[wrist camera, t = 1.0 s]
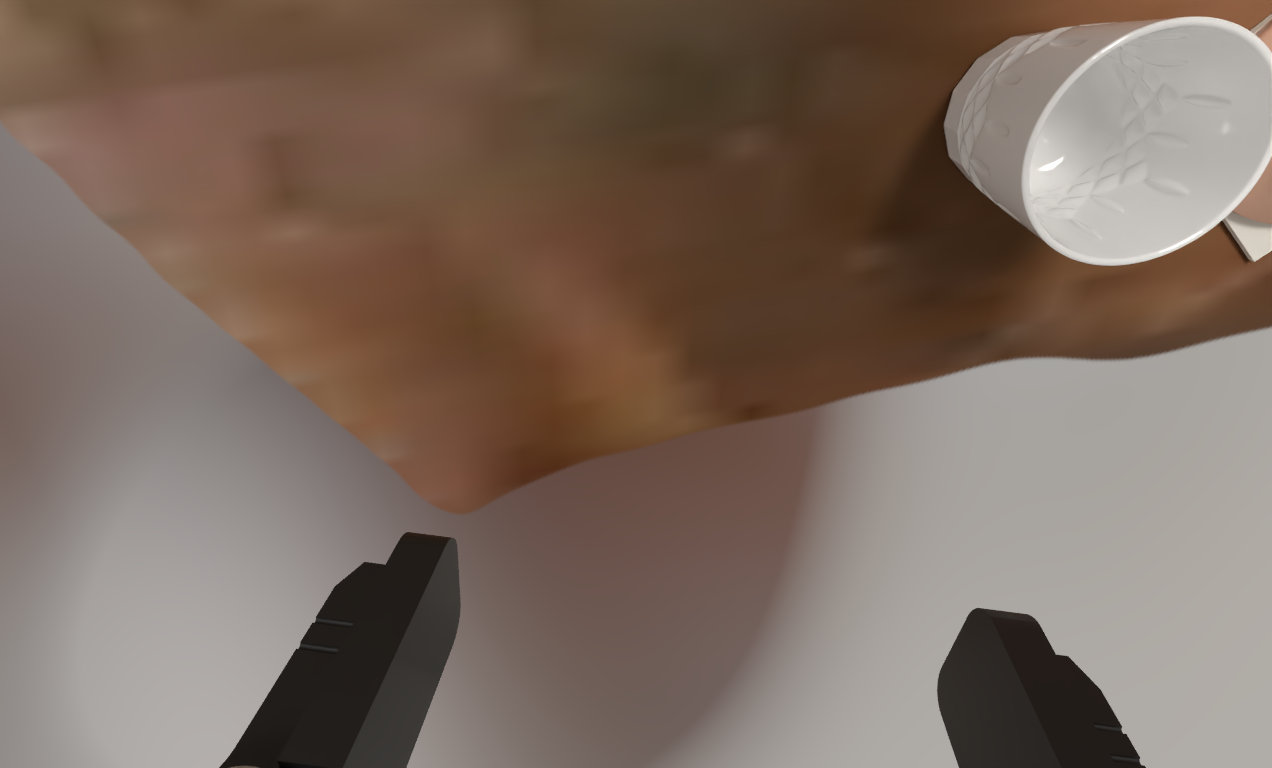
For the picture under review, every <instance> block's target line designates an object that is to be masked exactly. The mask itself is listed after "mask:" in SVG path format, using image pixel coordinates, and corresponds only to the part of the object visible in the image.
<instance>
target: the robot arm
mask: <svg viewBox="0 0 1272 768" xmlns="http://www.w3.org/2000/svg"><path fill="white" fill-rule="evenodd" d="M459 617H460V588H459V570H458V554H457V543H456V540H455V539H454V538H449V537H442V536H434V535H426V534H418V533H411V532H407V533H405V534H404V535H403V536H402V537H401V538H400V540H399V542H398V544H397V545H396V547H395V549H394V551H393V552H392V554H391V556H390V558H389V560H388V561H387V563H386V565H383V564H376V563H368V562H364V563H363V564H362V565H361V566H359V567H358V568H357V569H356V570H355V571H353V572H352V573H351V574H350V575H348V576H347V577H346V578H345V579H343V580H342V581H341V582H340V583H339V584H337V585H336V586H335V587H334V589H333V591H332V592H331V594H330V596H329V597H328V599H327V600H326V602H325V603H324V605H323V607H322V608H321V610H320V612H319V613H318V615H317V616H316V621H315V623H312V625H311V626H310V628H309V629H308V631H307V633H306V634H305V636H304V637H303V639H302V641H301V644H300V647H299V649H296V650H295V652H294V653H293V655H292V657H291V658H290V660H289V662H288V663H287V665H286V666H285V668H284V670H283V671H282V673H281V674H280V676H279V678H278V679H277V681H276V682H275V684H274V686H273V687H272V689H271V691H270V692H269V694H268V695H267V697H266V699H265V700H264V702H263V704H262V705H261V707H260V708H259V710H258V711H257V713H256V715H255V717H254V718H253V720H252V721H251V723H250V725H249V726H248V728H247V729H246V731H245V733H244V734H243V736H242V737H241V739H240V741H239V742H238V744H237V745H236V747H235V749H234V750H233V751H232V753H231V754H230V756H229V757H228V758H227V759H226V761H225V762H224V763H223V764H222V765H221V766H220V767H219V768H406V767H407V764H408V761H409V759H410V756H411V753H412V751H413V748H414V746H415V743H416V741H417V738H418V735H419V733H420V730H421V727H422V725H423V722H424V720H425V717H426V714H427V711H428V709H429V706H430V704H431V701H432V699H433V696H434V693H435V691H436V688H437V685H438V683H439V680H440V678H441V675H442V672H443V670H444V667H445V664H446V662H447V659H448V656H449V654H450V651H451V649H452V646H453V643H454V640H455V637H456V633H457V628H458V623H459ZM937 691H938V692H937V693H938V703H939V708H940V712H941V715H942V718H943V721H944V724H945V727H946V730H947V733H948V736H949V739H950V742H951V745H952V748H953V751H954V754H955V757H956V760H957V763H958V766H959V768H1146V767H1145V766H1142V765H1141V764H1140V762H1139V759H1140V757H1139V755H1138V754H1137V752H1136V750H1135V748H1134V747H1133V745H1132V743H1131V741H1130V740H1129V738H1128V737H1127V734H1123V733H1122V730H1121V728H1122V726H1121V724H1120V722H1119V721H1118V719H1117V717H1116V716H1115V714H1114V712H1113V710H1112V709H1111V707H1110V705H1109V704H1108V702H1107V700H1106V698H1105V697H1104V695H1103V693H1102V691H1101V690H1100V689H1099V688H1098V687H1097V686H1096V685H1095V684H1094V683H1093V682H1092V680H1091V679H1090V678H1089V677H1088V676H1087V675H1086V674H1085V673H1084V672H1083V671H1082V670H1081V669H1080V668H1079V667H1078V666H1077V665H1076V664H1075V663H1074V662H1073V661H1072V660H1071V659H1070V658H1069V657H1068V656H1062V655H1056V654H1055V652H1054V650H1053V649H1052V647H1051V645H1050V643H1049V641H1048V639H1047V637H1046V636H1045V634H1044V632H1043V630H1042V628H1041V627H1040V625H1039V623H1038V622H1037V621H1036V620H1035V619H1034V618H1033V617H1032V616H1030V615H1027V614H1020V613H1012V612H1005V611H996V610H989V609H982V608H976V609H974V610H972V611H971V612H970V614H969V615H968V617H967V619H966V621H965V623H964V625H963V627H962V629H961V631H960V633H959V634H958V636H957V639H956V640H955V642H954V644H953V646H952V648H951V650H950V652H949V654H948V656H947V658H946V660H945V662H944V664H943V666H942V668H941V670H940V674H939V678H938V689H937Z"/></svg>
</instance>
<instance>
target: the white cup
mask: <svg viewBox="0 0 1272 768" xmlns="http://www.w3.org/2000/svg"><path fill="white" fill-rule="evenodd" d="M944 131H945V137H946V143H947V149H948V155H949V157H950V159H951V160H952V161H953V162H954V163H955V165H956V166H957V167H958V168H959V169H960V171H961V172H962V173H963V174H964V175H965V177H966V178H967V179H968V180H969V181H971V182H972V183H973V184H974V185H975V186H976V187H977V188H978V189H979V190H980V191H981V192H982V193H983V194H984V195H986V196H987V197H988V198H989V199H990V200H992V201H993V202H994V203H995V204H996V205H998V206H999V207H1000V208H1001V209H1002V210H1003V211H1005V212H1006V213H1007V214H1008V215H1010V216H1011V217H1012V218H1014V219H1015V220H1016V221H1018V222H1019V223H1020V224H1022V225H1023V226H1024V227H1026V228H1027V229H1028V230H1030V231H1031V232H1032V233H1034V234H1035V235H1036V236H1037V237H1039V238H1040V239H1041V240H1043V241H1044V242H1045V243H1046V244H1048V245H1049V246H1050V247H1052V248H1053V249H1054V250H1056V251H1057V252H1059V253H1061V254H1062V255H1064V256H1067V257H1069V258H1071V259H1074V260H1077V261H1080V262H1084V263H1088V264H1094V265H1106V266H1115V265H1127V264H1134V263H1139V262H1143V261H1147V260H1151V259H1154V258H1157V257H1160V256H1163V255H1166V254H1168V253H1170V252H1173V251H1175V250H1177V249H1179V248H1181V247H1183V246H1185V245H1187V244H1189V243H1191V242H1192V241H1194V240H1196V239H1197V238H1199V237H1200V236H1202V235H1203V234H1205V233H1206V232H1208V231H1209V230H1211V229H1212V228H1213V227H1215V226H1216V225H1217V224H1218V223H1220V222H1221V221H1222V220H1223V219H1224V218H1225V217H1227V216H1228V215H1229V214H1230V213H1231V212H1232V211H1233V210H1234V209H1235V208H1236V207H1237V206H1238V205H1239V204H1240V203H1241V202H1242V200H1243V199H1244V198H1245V197H1246V196H1247V195H1248V193H1249V192H1250V191H1251V190H1252V188H1253V187H1254V186H1255V184H1256V183H1257V181H1258V180H1259V178H1260V177H1261V175H1262V174H1263V172H1264V170H1265V169H1266V167H1267V165H1268V163H1269V161H1270V159H1271V157H1272V52H1271V51H1270V49H1269V48H1268V47H1267V45H1266V44H1265V43H1264V42H1263V41H1262V40H1261V39H1260V38H1259V37H1257V36H1256V35H1255V34H1254V33H1252V32H1251V31H1249V30H1247V29H1246V28H1244V27H1242V26H1240V25H1238V24H1235V23H1232V22H1230V21H1226V20H1222V19H1218V18H1212V17H1179V18H1167V19H1154V20H1139V21H1124V22H1108V23H1096V24H1086V25H1078V26H1072V27H1063V28H1057V29H1054V30H1052V31H1045V32H1039V33H1032V34H1026V35H1020V36H1013V37H1010V38H1009V39H1007V40H1006V41H1004V42H1003V43H1001V44H999V45H998V46H996V47H995V48H993V49H991V50H990V51H988V52H987V53H985V54H984V55H982V56H980V57H979V58H977V60H976V61H975V62H974V63H973V65H972V66H971V67H970V69H969V70H968V71H967V73H966V74H965V75H964V77H963V78H962V79H961V81H960V82H959V83H958V85H957V86H956V87H955V89H954V90H953V93H952V96H951V100H950V104H949V107H948V111H947V114H946V118H945V121H944Z"/></svg>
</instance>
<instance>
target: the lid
mask: <svg viewBox="0 0 1272 768" xmlns="http://www.w3.org/2000/svg"><path fill="white" fill-rule="evenodd" d="M1255 35H1256V36H1257V37H1259V38H1260V39H1261V40H1262V41H1263V42H1264V43H1265V44H1266V45H1267V47H1268V48H1269V49H1270V51H1271V52H1272V19H1271V20H1270V21H1269V22H1268V23H1267V24H1266V25H1264V26H1263V27H1262V28H1261V29H1260V30H1259V31H1257V32H1256V33H1255ZM1232 212H1233V213H1235V214H1238V215H1241V216H1244V217H1246V218H1249V219H1252V220H1255V221H1258V222H1263V223H1268V224H1272V157H1271V159H1270V161H1269V163H1268V165H1267V167H1266V169H1265V170H1264V172H1263V174H1262V175H1261V177H1260V178H1259V180H1258V181H1257V183H1256V184H1255V186H1254V187H1253V188H1252V190H1251V191H1250V192H1249V193H1248V195H1247V196H1246V197H1245V198H1244V199H1243V200H1242V202H1241V203H1240V204H1239V205H1238V206H1237V207H1236V208H1235V209H1234V210H1233V211H1232Z"/></svg>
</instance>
